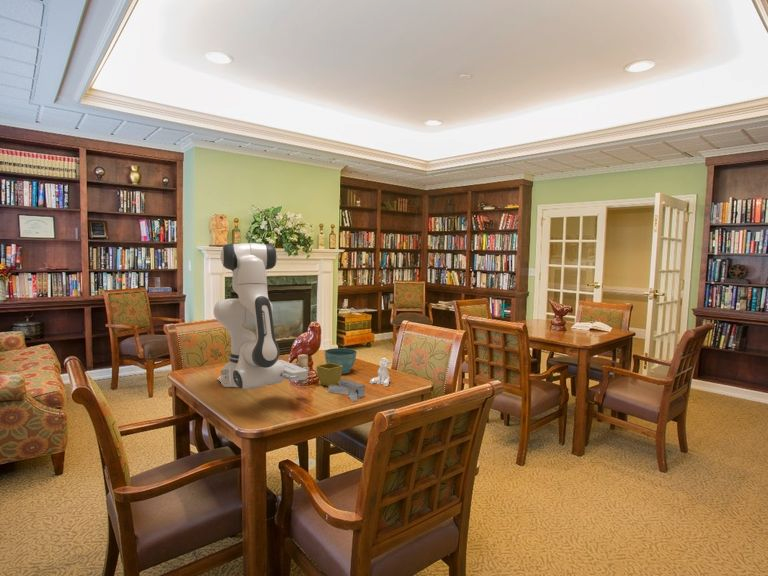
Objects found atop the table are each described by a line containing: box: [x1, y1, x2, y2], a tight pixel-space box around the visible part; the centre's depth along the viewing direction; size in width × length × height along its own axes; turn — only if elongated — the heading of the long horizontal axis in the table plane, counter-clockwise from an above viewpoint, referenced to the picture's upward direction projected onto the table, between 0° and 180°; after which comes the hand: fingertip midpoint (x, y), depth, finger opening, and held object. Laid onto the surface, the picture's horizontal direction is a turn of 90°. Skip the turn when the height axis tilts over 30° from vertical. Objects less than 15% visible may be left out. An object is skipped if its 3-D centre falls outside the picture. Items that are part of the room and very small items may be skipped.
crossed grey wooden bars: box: [328, 378, 366, 402], centre depth 200 cm, size 18×8×5 cm, turn 43°
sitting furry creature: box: [369, 357, 392, 387], centre depth 219 cm, size 10×9×12 cm
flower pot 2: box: [316, 363, 343, 388], centre depth 214 cm, size 9×9×9 cm
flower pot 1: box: [324, 347, 358, 375], centre depth 237 cm, size 16×16×11 cm
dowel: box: [297, 354, 309, 384], centre depth 192 cm, size 4×4×11 cm
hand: (304, 367), depth 193 cm, fingers closed on dowel, 4 cm apart
